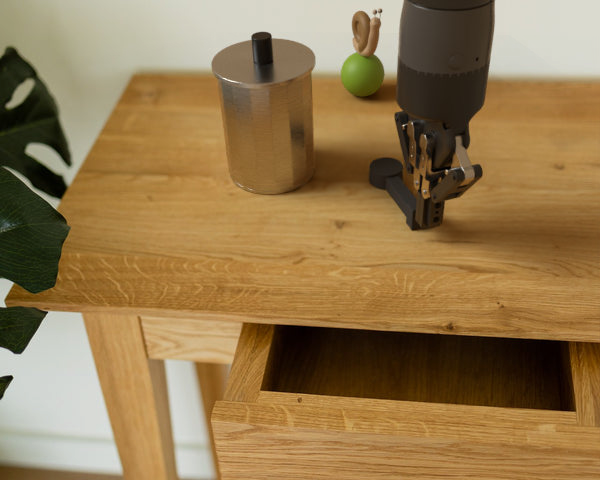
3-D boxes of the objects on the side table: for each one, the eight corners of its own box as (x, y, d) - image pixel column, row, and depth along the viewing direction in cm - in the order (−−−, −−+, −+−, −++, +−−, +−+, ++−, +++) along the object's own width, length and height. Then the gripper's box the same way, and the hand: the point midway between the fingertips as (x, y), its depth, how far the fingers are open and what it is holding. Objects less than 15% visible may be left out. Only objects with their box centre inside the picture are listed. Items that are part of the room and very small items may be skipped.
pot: (298, 141, 89) (293, 38, 80) (326, 183, 82) (324, 75, 74) (220, 158, 87) (206, 54, 78) (243, 202, 80) (230, 94, 72)
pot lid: (296, 41, 81) (294, 7, 79) (330, 82, 74) (330, 46, 71) (201, 59, 79) (197, 25, 77) (227, 103, 72) (223, 67, 69)
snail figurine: (356, 111, 93) (357, 14, 85) (333, 90, 98) (332, -4, 90) (395, 101, 95) (399, 5, 87) (371, 80, 99) (373, -13, 91)
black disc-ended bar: (394, 168, 84) (395, 149, 82) (438, 224, 76) (440, 204, 74) (363, 175, 83) (364, 155, 81) (404, 232, 75) (406, 212, 73)
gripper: (528, 74, 58) (498, 253, 70) (447, 15, 68) (432, 181, 79) (440, 92, 57) (424, 273, 68) (369, 29, 66) (365, 197, 77)
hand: (428, 223), depth 74 cm, fingers closed
